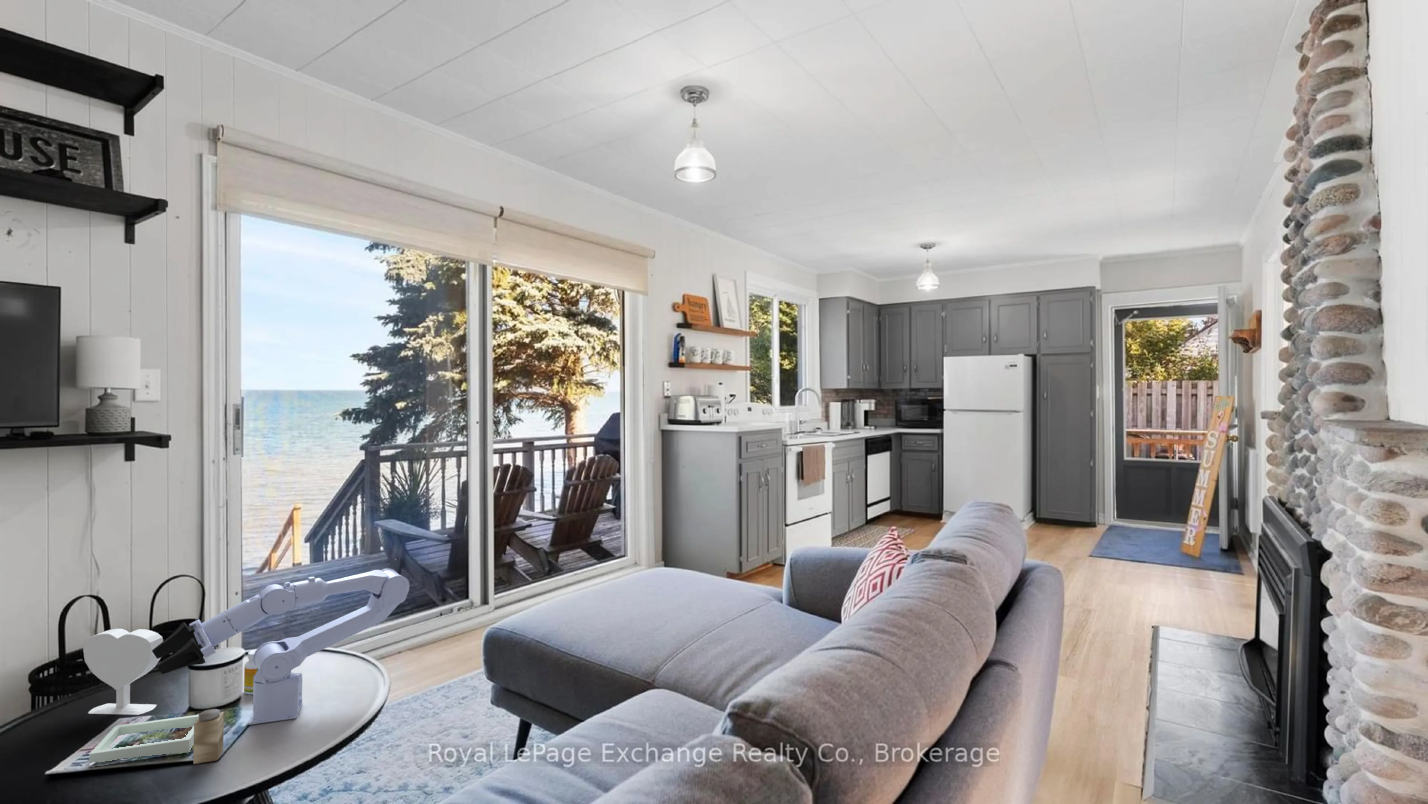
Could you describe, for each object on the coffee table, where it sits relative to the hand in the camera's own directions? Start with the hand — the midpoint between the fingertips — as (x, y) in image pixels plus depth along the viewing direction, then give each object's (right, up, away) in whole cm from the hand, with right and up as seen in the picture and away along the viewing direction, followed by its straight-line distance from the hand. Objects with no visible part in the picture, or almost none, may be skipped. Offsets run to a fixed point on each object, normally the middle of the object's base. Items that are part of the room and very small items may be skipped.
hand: (156, 662), depth 141 cm
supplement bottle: (+3, -17, +26) cm, 32 cm away
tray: (-1, -17, 0) cm, 17 cm away
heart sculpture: (-21, -17, +15) cm, 31 cm away
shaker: (+14, -18, -4) cm, 23 cm away
